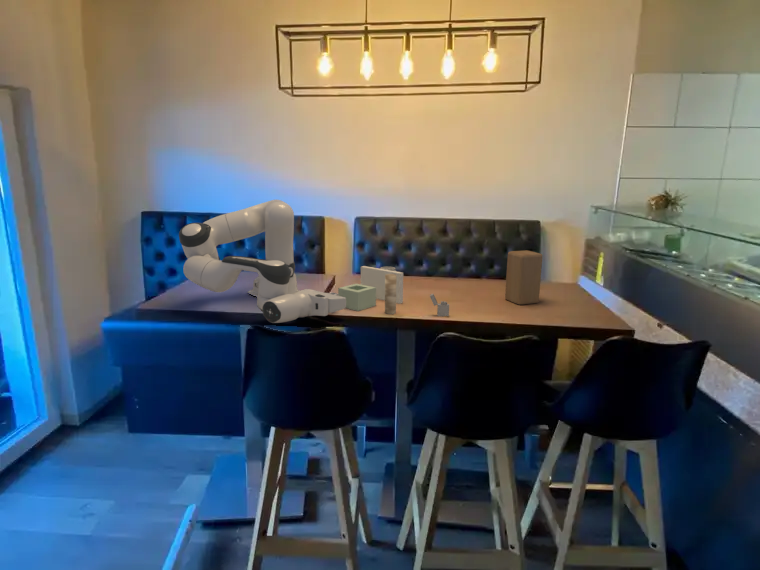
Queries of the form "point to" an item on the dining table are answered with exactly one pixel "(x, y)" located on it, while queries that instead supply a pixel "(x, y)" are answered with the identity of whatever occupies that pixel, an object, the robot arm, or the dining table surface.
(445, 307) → the lighter
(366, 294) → the green square bin
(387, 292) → the dowel
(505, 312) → the dining table surface
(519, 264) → the wooden block
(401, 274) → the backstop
